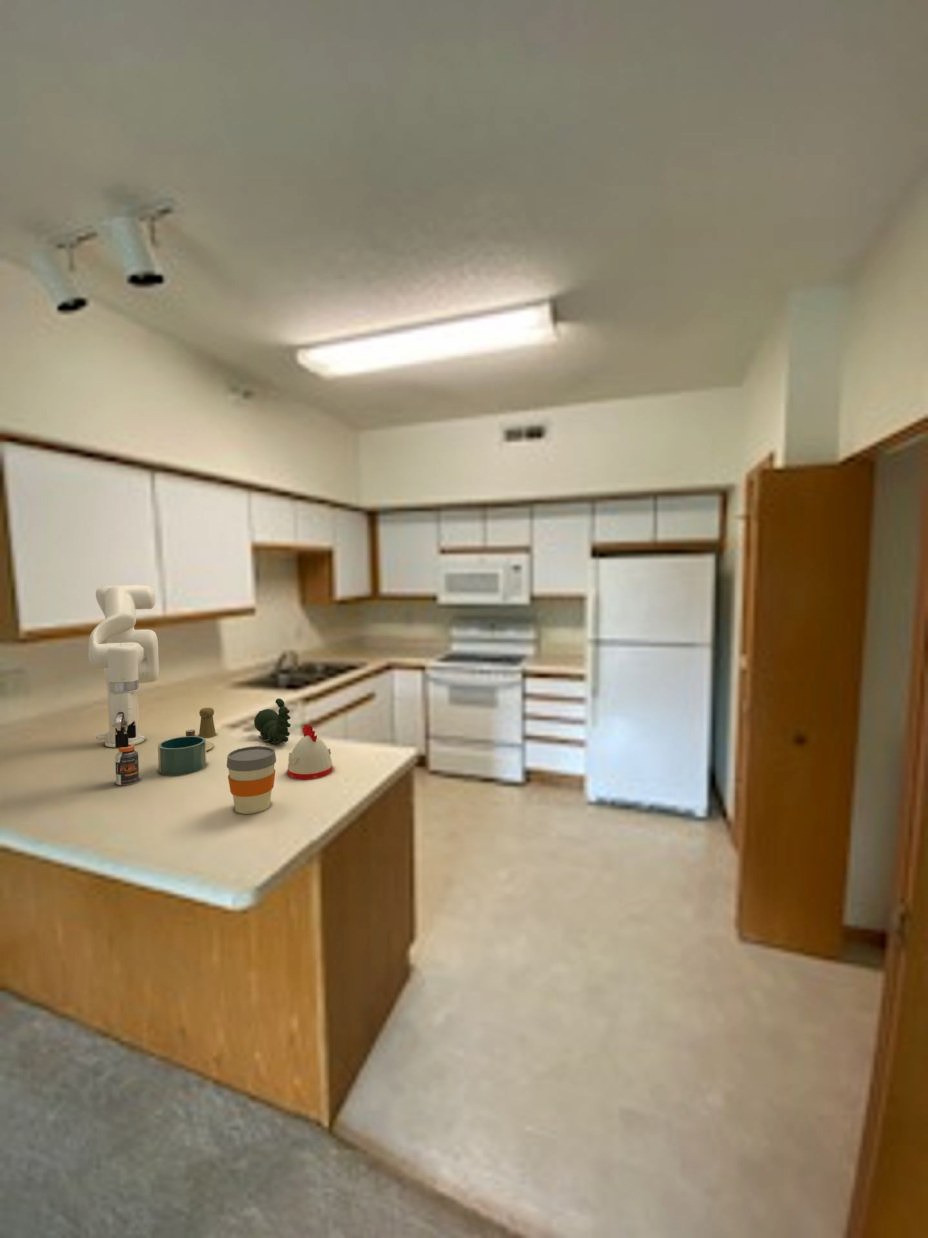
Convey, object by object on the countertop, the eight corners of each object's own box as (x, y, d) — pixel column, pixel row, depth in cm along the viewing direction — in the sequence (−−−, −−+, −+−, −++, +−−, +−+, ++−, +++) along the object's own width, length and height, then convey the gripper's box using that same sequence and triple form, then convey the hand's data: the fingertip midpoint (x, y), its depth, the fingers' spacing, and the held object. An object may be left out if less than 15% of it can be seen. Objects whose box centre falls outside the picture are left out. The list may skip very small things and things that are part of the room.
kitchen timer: (319, 760, 180) (318, 718, 179) (340, 771, 171) (340, 726, 170) (280, 770, 171) (279, 725, 170) (300, 782, 161) (299, 735, 160)
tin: (155, 777, 164) (154, 751, 163) (163, 763, 177) (162, 738, 176) (203, 772, 169) (203, 746, 168) (207, 758, 181) (207, 734, 181)
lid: (164, 758, 181) (163, 738, 180) (171, 745, 194) (170, 727, 194) (211, 754, 186) (210, 734, 186) (214, 741, 200) (214, 723, 199)
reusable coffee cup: (227, 820, 136) (226, 763, 135) (228, 801, 147) (226, 749, 146) (278, 812, 141) (277, 757, 140) (275, 794, 152) (274, 743, 151)
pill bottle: (119, 787, 156) (118, 750, 155) (113, 782, 160) (112, 745, 159) (142, 781, 160) (140, 745, 160) (135, 776, 164) (134, 741, 164)
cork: (208, 738, 204) (208, 710, 203) (195, 737, 205) (194, 709, 204) (219, 733, 210) (218, 706, 209) (205, 732, 211) (205, 705, 210)
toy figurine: (296, 749, 197) (271, 728, 215) (298, 701, 194) (271, 684, 213) (271, 755, 191) (247, 733, 209) (272, 704, 188) (248, 687, 206)
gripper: (116, 682, 165) (119, 736, 166) (100, 693, 148) (103, 752, 150) (144, 680, 167) (146, 733, 168) (131, 691, 151) (133, 749, 152)
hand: (126, 742), depth 159 cm, fingers open, 9 cm apart
